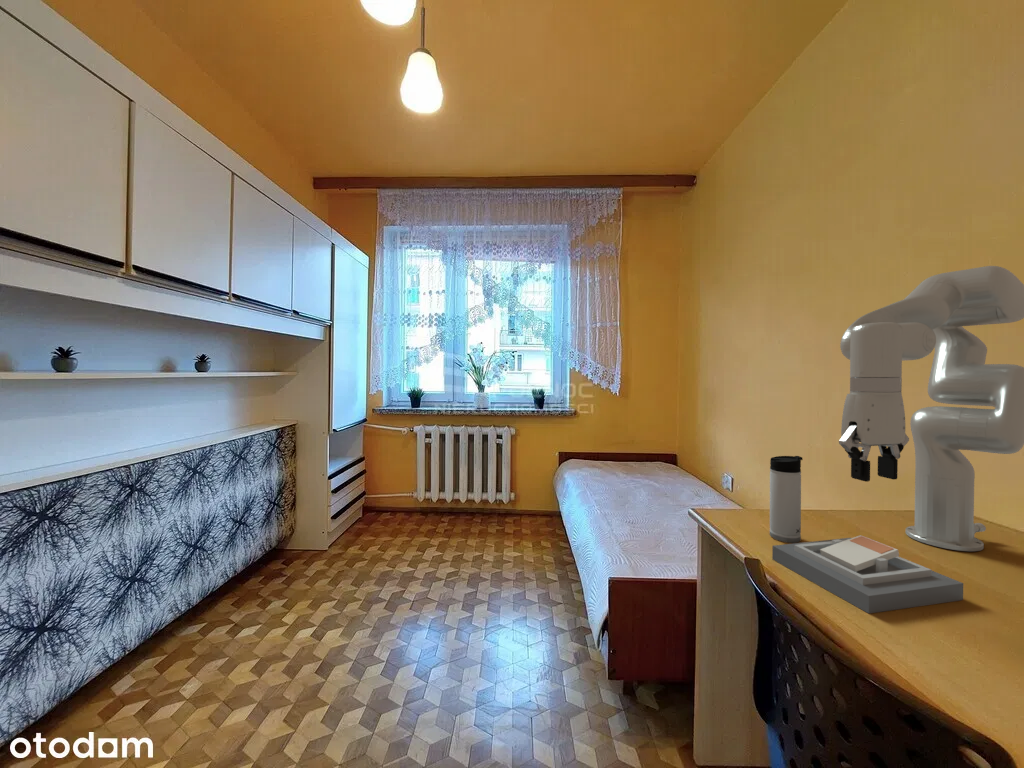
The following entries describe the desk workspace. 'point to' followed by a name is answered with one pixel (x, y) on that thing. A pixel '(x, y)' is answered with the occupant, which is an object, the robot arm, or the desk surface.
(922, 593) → the switch plate
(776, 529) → the travel mug
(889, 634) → the desk surface
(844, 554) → the rocker switch
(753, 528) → the desk surface
